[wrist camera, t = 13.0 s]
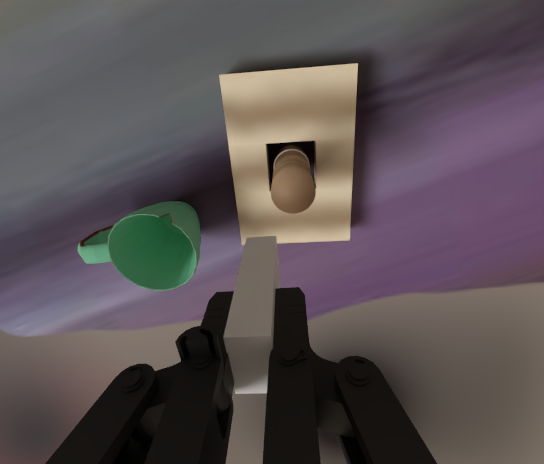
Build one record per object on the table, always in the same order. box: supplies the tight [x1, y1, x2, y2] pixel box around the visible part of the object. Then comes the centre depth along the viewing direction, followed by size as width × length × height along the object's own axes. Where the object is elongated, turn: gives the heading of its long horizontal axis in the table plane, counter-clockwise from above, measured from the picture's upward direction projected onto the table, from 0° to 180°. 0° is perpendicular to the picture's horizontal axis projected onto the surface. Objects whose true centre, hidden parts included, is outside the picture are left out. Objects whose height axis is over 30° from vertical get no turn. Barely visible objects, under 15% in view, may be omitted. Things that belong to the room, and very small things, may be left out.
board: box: [219, 63, 358, 245], centre depth 37 cm, size 20×14×3 cm
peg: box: [271, 144, 316, 214], centre depth 33 cm, size 4×4×12 cm
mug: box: [78, 201, 201, 291], centre depth 38 cm, size 15×10×10 cm
